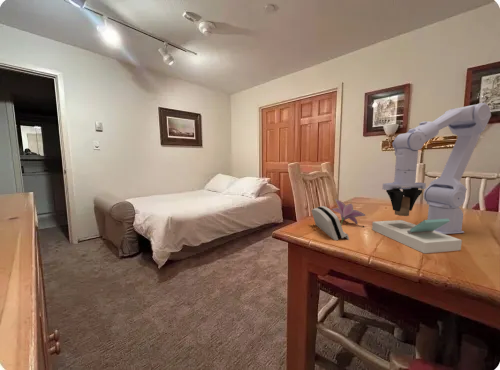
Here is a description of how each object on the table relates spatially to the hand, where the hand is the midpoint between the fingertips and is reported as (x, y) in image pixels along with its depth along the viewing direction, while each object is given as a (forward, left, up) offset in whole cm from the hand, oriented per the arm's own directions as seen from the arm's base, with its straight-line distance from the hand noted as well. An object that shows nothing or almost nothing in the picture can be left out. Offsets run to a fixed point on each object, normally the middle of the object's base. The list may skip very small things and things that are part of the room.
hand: (402, 210), depth 73 cm
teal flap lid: (0, +7, -5) cm, 8 cm away
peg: (0, 0, -2) cm, 2 cm away
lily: (+11, -14, -9) cm, 20 cm away
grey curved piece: (+23, -7, -9) cm, 26 cm away
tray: (0, +4, -8) cm, 9 cm away
